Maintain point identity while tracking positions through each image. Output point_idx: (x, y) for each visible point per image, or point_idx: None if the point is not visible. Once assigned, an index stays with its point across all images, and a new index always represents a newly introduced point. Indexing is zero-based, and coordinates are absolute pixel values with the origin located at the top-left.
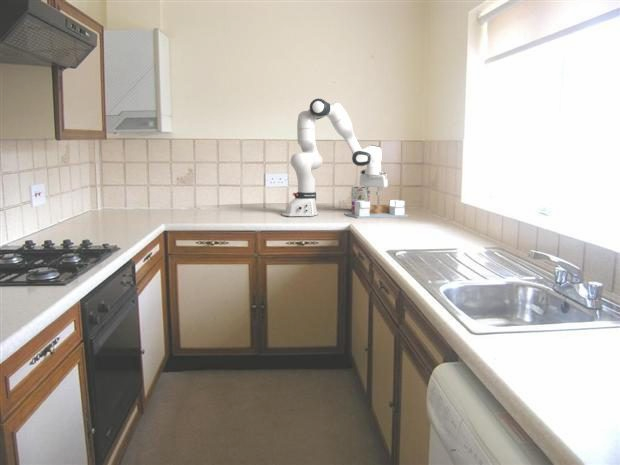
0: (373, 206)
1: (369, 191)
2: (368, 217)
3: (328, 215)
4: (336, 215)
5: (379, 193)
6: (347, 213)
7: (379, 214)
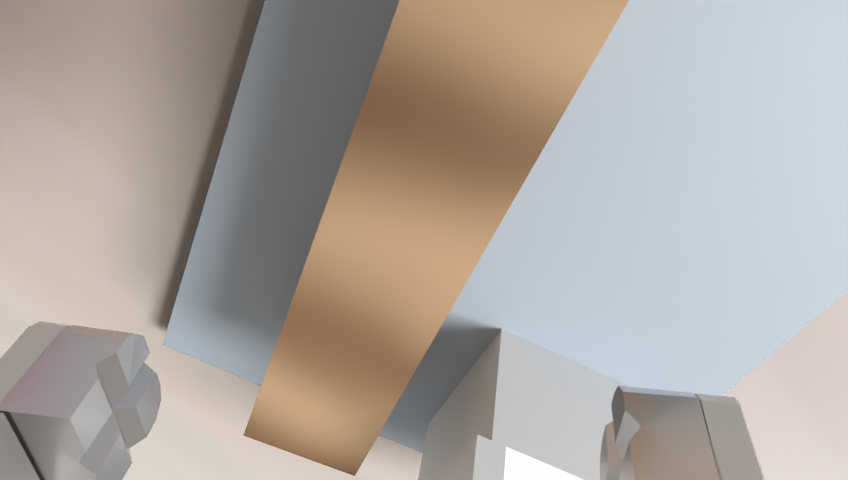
0: (509, 197)
1: (98, 426)
2: None
3: (152, 461)
4: (194, 422)
5: (738, 455)
6: (223, 350)
7: (700, 141)
